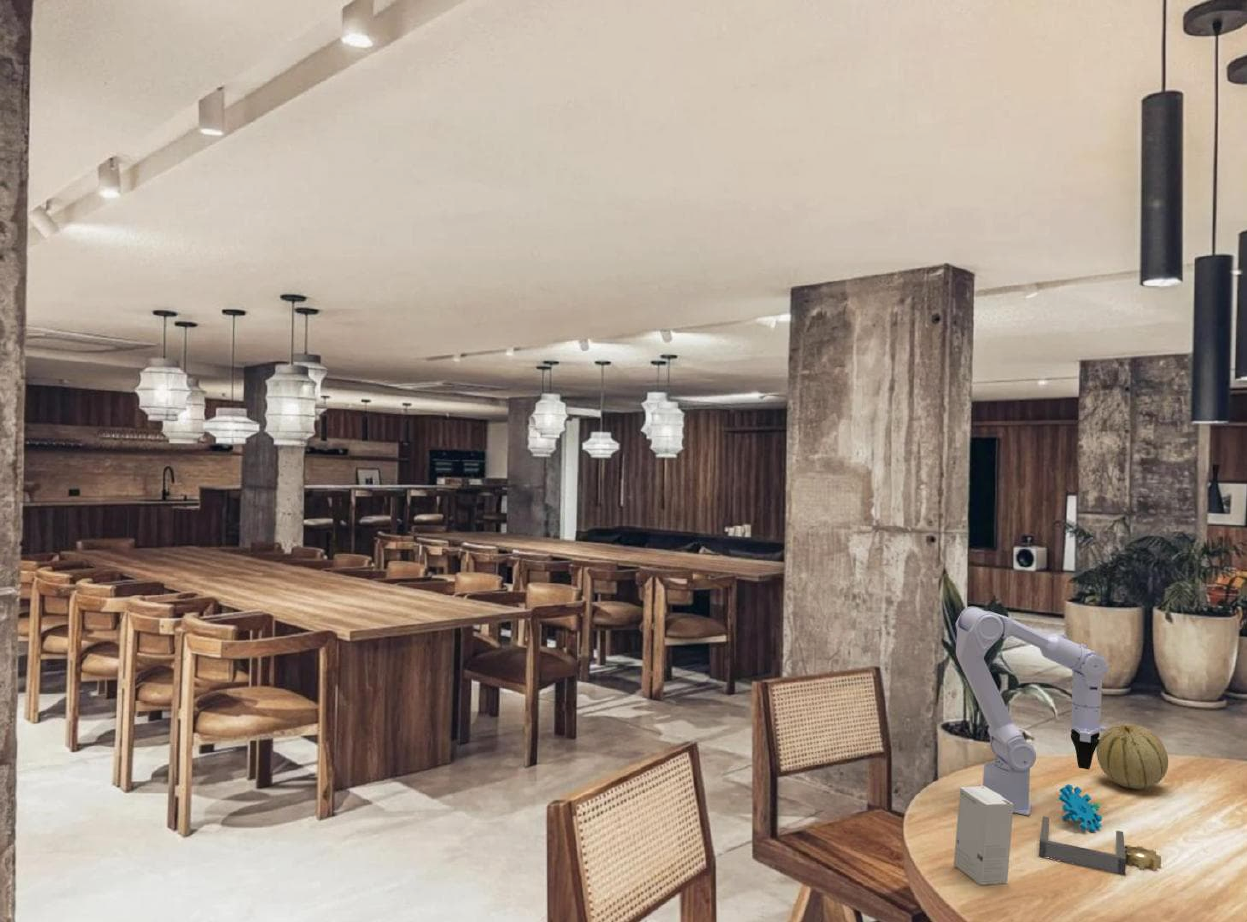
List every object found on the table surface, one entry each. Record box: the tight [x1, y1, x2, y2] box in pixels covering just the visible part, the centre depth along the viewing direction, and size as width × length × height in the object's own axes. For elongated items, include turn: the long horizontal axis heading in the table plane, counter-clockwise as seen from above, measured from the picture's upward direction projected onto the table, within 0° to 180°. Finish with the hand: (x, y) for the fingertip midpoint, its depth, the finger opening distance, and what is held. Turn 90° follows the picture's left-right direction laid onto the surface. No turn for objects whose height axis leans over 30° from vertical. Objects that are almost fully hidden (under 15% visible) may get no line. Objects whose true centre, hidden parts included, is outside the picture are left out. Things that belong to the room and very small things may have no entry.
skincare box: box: [953, 785, 1014, 886], centre depth 162 cm, size 8×6×15 cm
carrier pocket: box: [1038, 815, 1162, 876], centre depth 172 cm, size 20×14×3 cm
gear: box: [1058, 784, 1103, 833], centre depth 187 cm, size 11×6×10 cm
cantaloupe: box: [1095, 723, 1169, 790], centre depth 211 cm, size 15×15×15 cm
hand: (1084, 766), depth 195 cm, fingers open, 2 cm apart
